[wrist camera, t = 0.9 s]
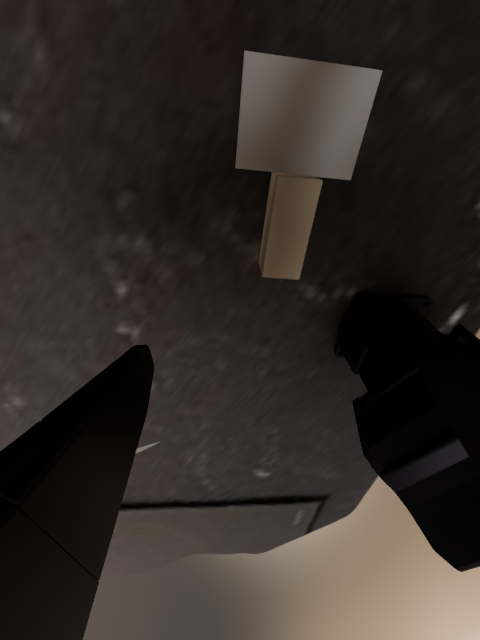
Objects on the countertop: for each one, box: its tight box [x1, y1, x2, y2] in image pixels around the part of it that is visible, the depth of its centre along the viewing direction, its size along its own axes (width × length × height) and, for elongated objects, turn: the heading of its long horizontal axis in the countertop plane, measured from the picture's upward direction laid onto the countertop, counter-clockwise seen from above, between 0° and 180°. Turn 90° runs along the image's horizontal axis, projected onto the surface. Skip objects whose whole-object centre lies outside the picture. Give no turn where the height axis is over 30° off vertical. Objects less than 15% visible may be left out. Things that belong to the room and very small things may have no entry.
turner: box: [235, 51, 382, 280], centre depth 16 cm, size 7×11×2 cm, turn 174°
